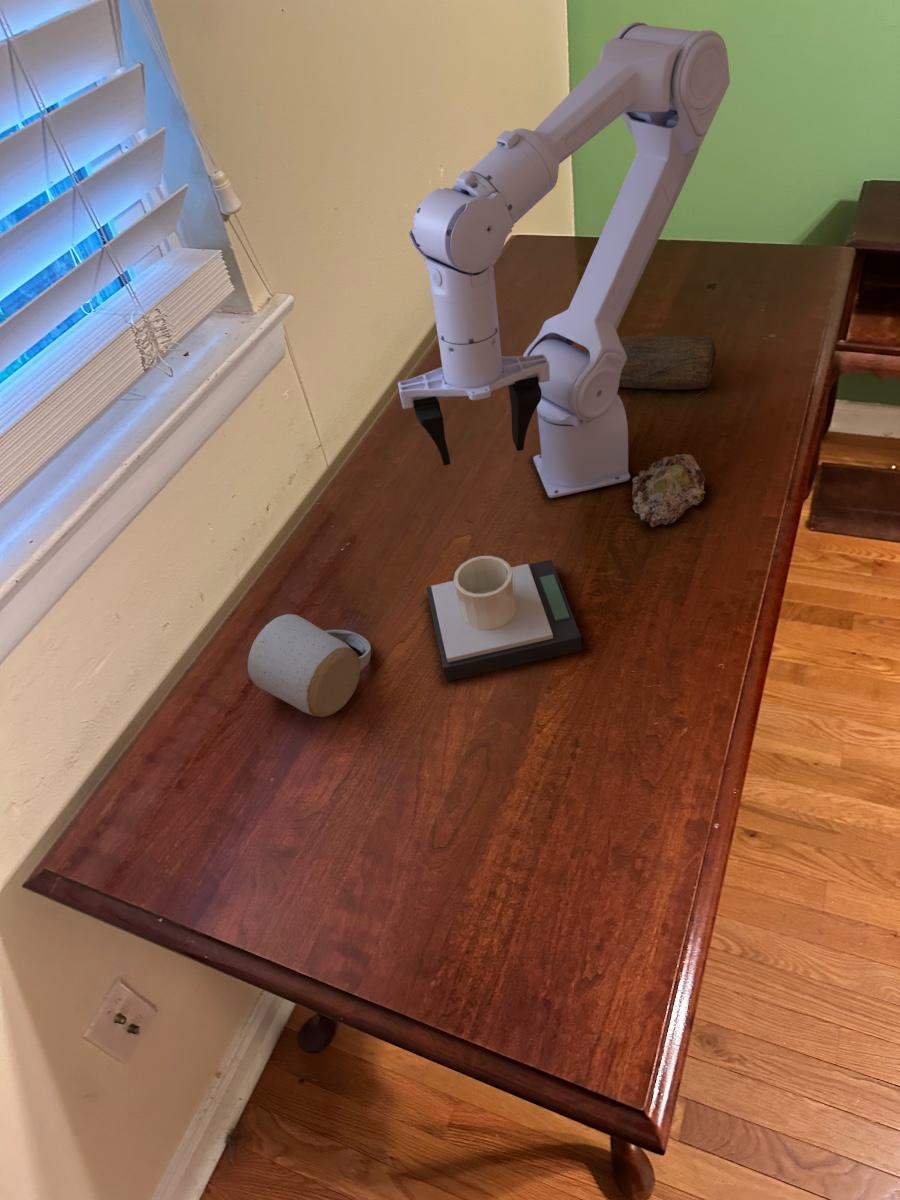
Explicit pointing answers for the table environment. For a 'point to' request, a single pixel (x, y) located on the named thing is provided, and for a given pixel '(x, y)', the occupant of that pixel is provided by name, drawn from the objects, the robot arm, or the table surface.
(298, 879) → the table surface
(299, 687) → the ceramic mug
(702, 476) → the mineral rock
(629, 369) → the wooden log
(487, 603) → the cream cup
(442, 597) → the scale
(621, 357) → the robot arm
